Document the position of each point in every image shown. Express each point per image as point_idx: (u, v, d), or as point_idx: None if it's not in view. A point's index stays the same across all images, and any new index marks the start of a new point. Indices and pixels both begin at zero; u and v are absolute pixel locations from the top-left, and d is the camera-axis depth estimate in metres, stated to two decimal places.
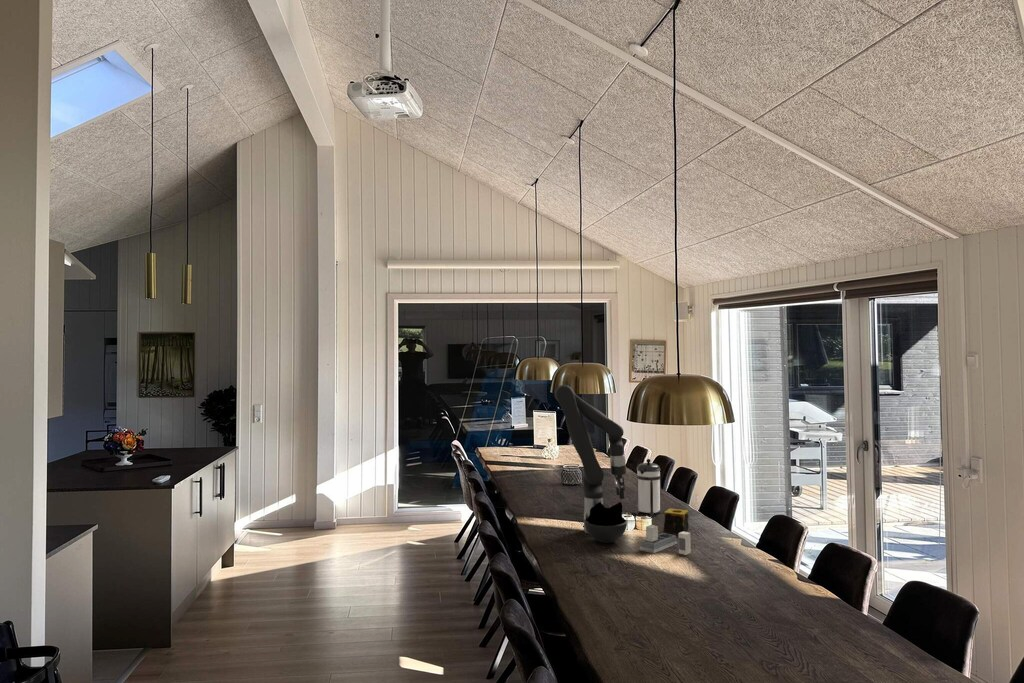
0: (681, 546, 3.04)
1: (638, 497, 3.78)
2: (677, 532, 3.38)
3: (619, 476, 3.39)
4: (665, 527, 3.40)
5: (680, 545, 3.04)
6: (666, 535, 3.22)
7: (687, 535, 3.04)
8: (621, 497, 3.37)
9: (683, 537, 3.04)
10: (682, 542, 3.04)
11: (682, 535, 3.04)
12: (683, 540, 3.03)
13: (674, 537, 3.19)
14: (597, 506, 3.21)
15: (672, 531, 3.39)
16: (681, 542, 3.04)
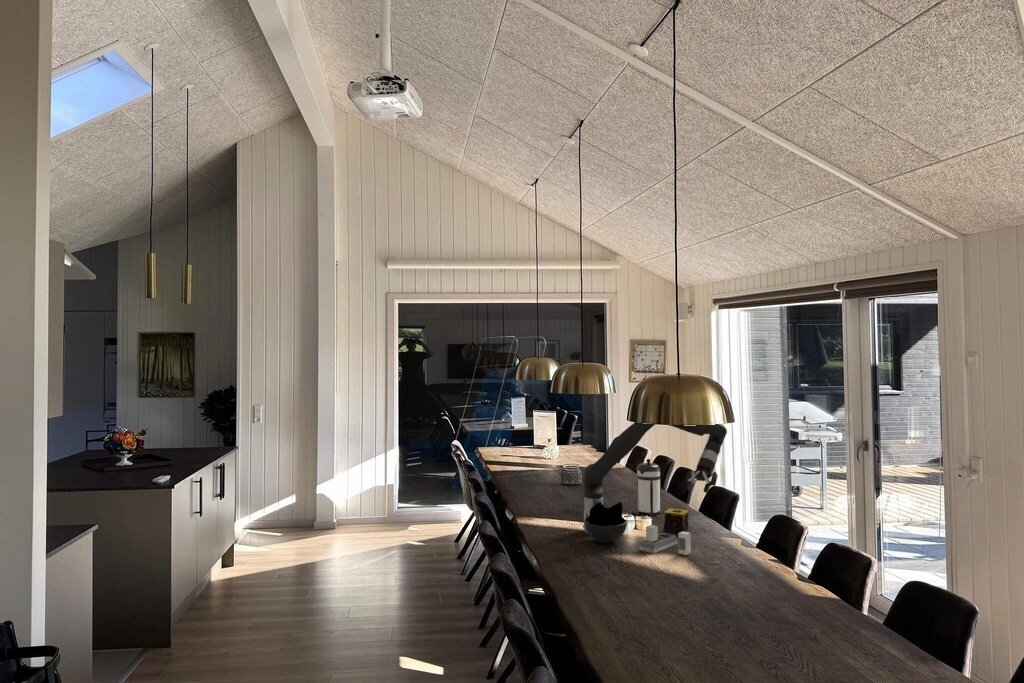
0: (681, 546, 3.04)
1: (638, 497, 3.78)
2: (677, 532, 3.38)
3: (710, 471, 3.18)
4: (665, 527, 3.40)
5: (680, 545, 3.04)
6: (666, 535, 3.22)
7: (687, 535, 3.04)
8: (707, 490, 3.11)
9: (683, 537, 3.04)
10: (682, 542, 3.04)
11: (682, 535, 3.04)
12: (683, 540, 3.03)
13: (674, 537, 3.19)
14: (597, 506, 3.21)
15: (672, 531, 3.39)
16: (681, 542, 3.04)
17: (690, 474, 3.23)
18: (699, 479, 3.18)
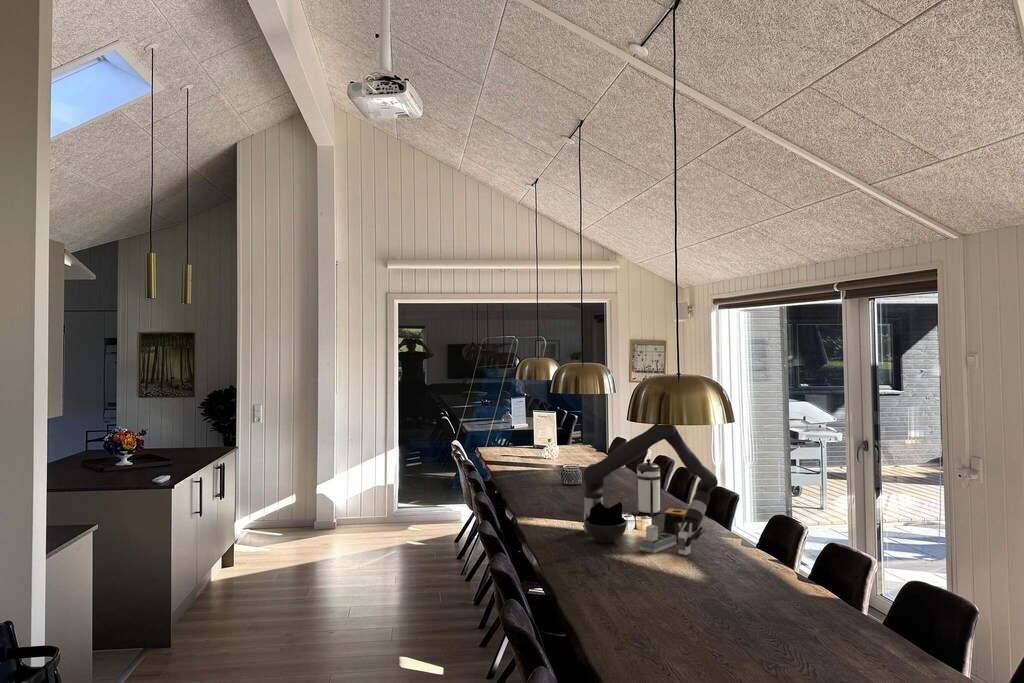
0: (681, 546, 3.04)
1: (638, 497, 3.78)
2: None
3: (698, 523, 3.07)
4: (665, 527, 3.40)
5: (680, 545, 3.04)
6: (666, 535, 3.22)
7: (687, 535, 3.04)
8: (688, 544, 3.02)
9: (683, 537, 3.04)
10: (682, 542, 3.04)
11: (682, 535, 3.04)
12: (683, 540, 3.03)
13: (674, 537, 3.19)
14: (597, 506, 3.21)
15: (672, 531, 3.39)
16: (681, 542, 3.04)
17: (678, 527, 3.11)
18: None
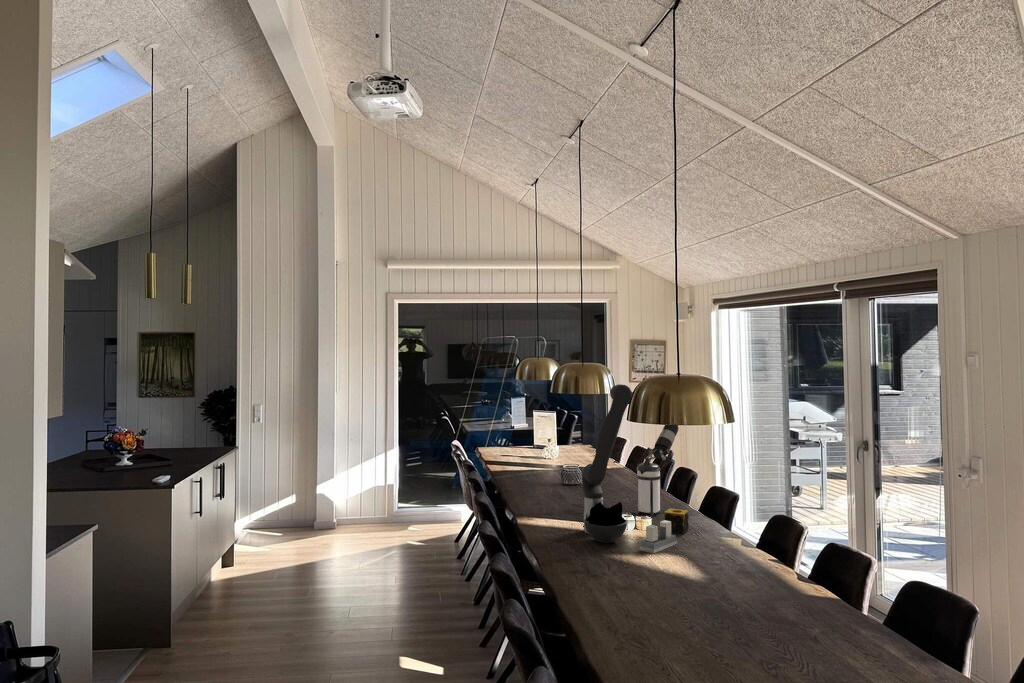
0: (662, 534, 3.18)
1: (638, 497, 3.78)
2: (677, 532, 3.38)
3: (667, 449, 3.35)
4: None
5: (661, 533, 3.18)
6: None
7: (668, 524, 3.18)
8: (662, 466, 3.28)
9: (664, 525, 3.18)
10: (663, 530, 3.17)
11: (663, 524, 3.18)
12: (664, 528, 3.17)
13: (674, 537, 3.19)
14: (597, 506, 3.21)
15: (672, 531, 3.39)
16: (662, 530, 3.18)
17: (648, 452, 3.40)
18: (656, 457, 3.35)
